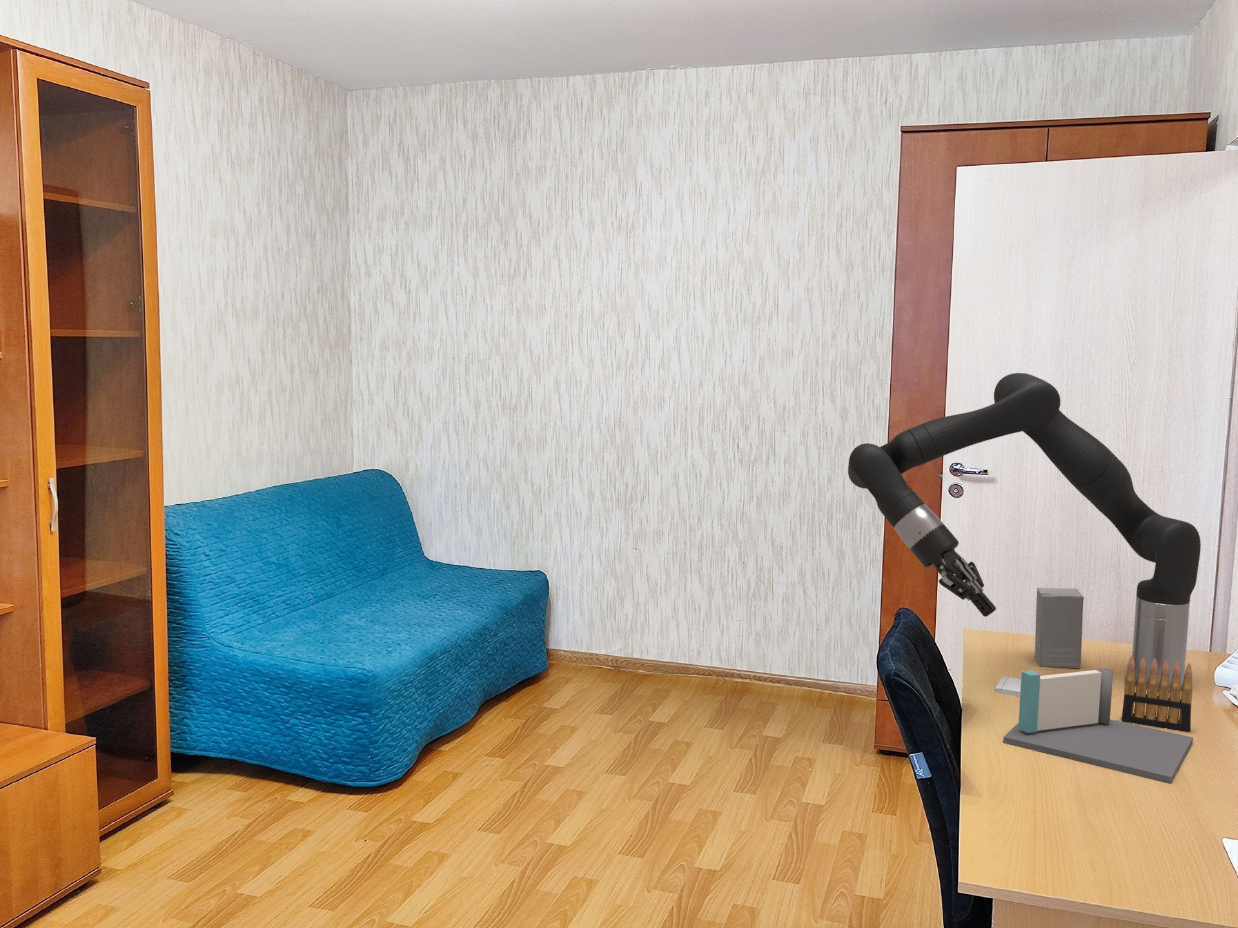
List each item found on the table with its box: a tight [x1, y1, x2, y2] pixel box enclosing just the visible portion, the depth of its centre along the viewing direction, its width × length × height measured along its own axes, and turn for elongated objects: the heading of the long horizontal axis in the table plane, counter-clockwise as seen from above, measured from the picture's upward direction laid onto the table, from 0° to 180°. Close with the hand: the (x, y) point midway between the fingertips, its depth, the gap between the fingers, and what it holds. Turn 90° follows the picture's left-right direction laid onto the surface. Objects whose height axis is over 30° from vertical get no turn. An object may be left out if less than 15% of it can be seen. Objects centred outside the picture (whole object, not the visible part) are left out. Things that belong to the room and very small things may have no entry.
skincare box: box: [1034, 587, 1085, 669], centre depth 208 cm, size 8×7×16 cm
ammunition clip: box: [1120, 655, 1194, 733], centre depth 175 cm, size 11×2×12 cm, turn 62°
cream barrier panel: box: [1018, 667, 1114, 733], centre depth 171 cm, size 18×2×10 cm, turn 107°
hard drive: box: [994, 676, 1021, 698], centre depth 192 cm, size 2×8×12 cm
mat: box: [1003, 718, 1194, 784], centre depth 168 cm, size 20×25×1 cm
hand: (991, 613), depth 174 cm, fingers closed
